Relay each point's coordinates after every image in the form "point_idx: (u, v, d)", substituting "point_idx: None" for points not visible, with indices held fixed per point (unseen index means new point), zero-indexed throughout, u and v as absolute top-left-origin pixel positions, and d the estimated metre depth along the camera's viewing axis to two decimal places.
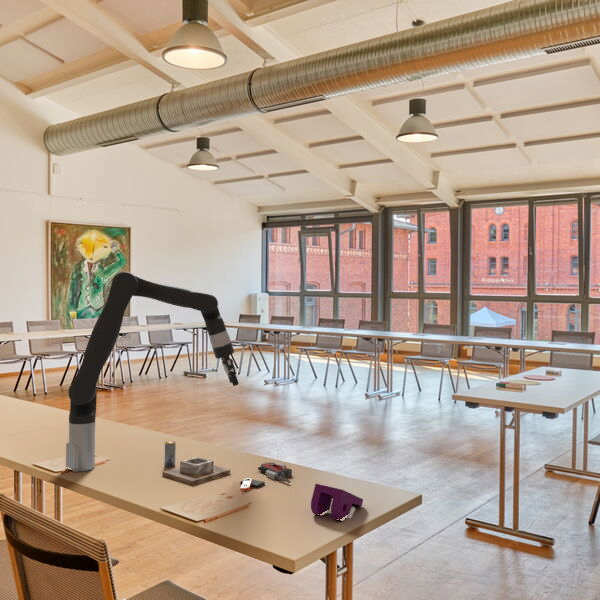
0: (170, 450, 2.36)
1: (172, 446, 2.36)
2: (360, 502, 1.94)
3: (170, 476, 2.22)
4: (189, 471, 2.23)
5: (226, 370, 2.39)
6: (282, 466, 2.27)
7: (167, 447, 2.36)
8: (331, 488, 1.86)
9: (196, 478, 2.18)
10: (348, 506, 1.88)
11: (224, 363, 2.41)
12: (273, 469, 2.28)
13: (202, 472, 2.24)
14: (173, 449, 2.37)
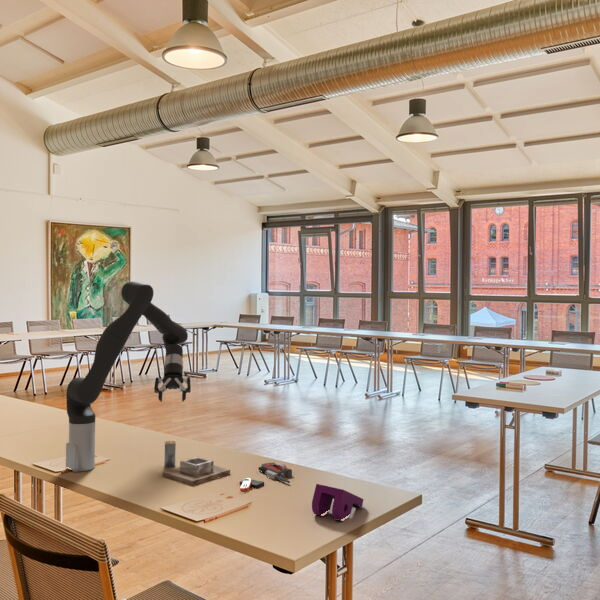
0: (170, 450, 2.36)
1: (172, 446, 2.36)
2: (361, 502, 1.94)
3: (170, 476, 2.22)
4: (189, 471, 2.23)
5: (182, 384, 2.52)
6: (282, 466, 2.27)
7: (167, 447, 2.36)
8: (332, 488, 1.86)
9: (196, 478, 2.18)
10: (349, 506, 1.88)
11: (177, 379, 2.54)
12: (273, 469, 2.28)
13: (202, 472, 2.24)
14: (173, 449, 2.37)
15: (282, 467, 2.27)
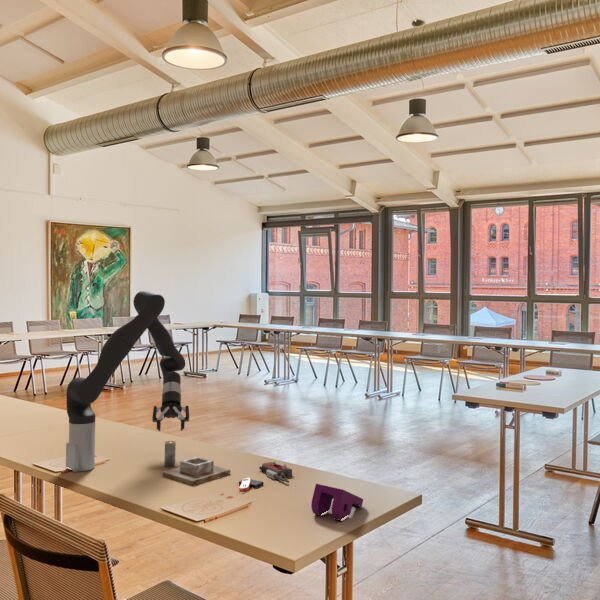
0: (170, 450, 2.36)
1: (172, 446, 2.36)
2: (360, 502, 1.94)
3: (170, 476, 2.22)
4: (189, 471, 2.23)
5: None
6: (282, 466, 2.28)
7: (167, 447, 2.36)
8: (332, 488, 1.86)
9: (196, 478, 2.18)
10: (349, 506, 1.88)
11: (176, 408, 2.51)
12: (273, 469, 2.28)
13: (202, 472, 2.24)
14: (173, 449, 2.37)
15: (282, 467, 2.27)
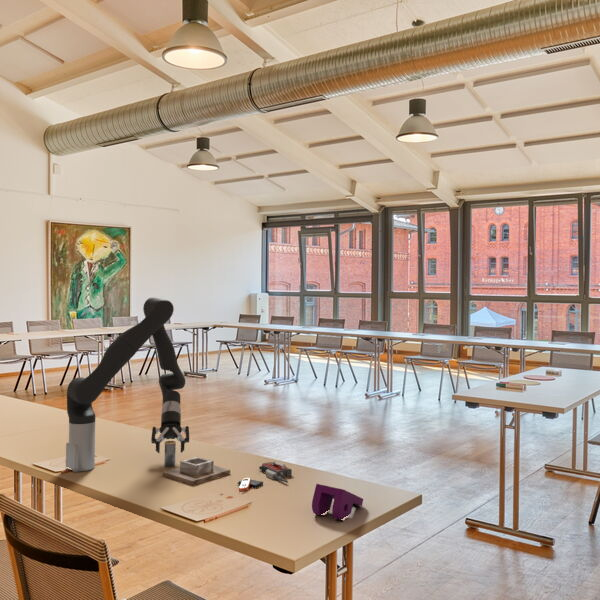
0: (170, 450, 2.36)
1: (172, 446, 2.36)
2: (360, 502, 1.94)
3: (170, 476, 2.22)
4: (189, 471, 2.23)
5: None
6: (282, 466, 2.28)
7: (167, 447, 2.36)
8: (332, 488, 1.86)
9: (196, 478, 2.18)
10: (349, 506, 1.88)
11: (175, 429, 2.43)
12: (273, 469, 2.28)
13: (202, 472, 2.24)
14: (173, 449, 2.37)
15: (281, 467, 2.27)
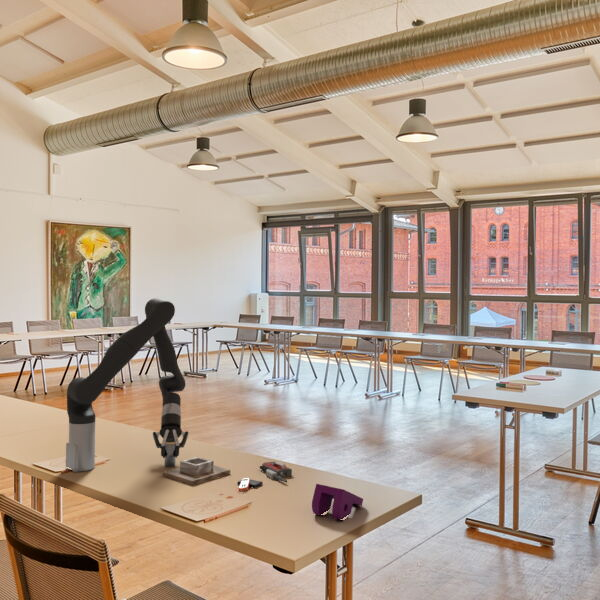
0: (170, 450, 2.36)
1: (172, 446, 2.36)
2: (360, 502, 1.94)
3: (170, 476, 2.22)
4: (189, 471, 2.23)
5: None
6: (282, 466, 2.28)
7: (167, 447, 2.36)
8: (332, 488, 1.87)
9: (196, 478, 2.18)
10: (349, 506, 1.88)
11: (175, 432, 2.42)
12: (273, 468, 2.28)
13: (202, 472, 2.24)
14: (173, 449, 2.37)
15: (281, 466, 2.27)
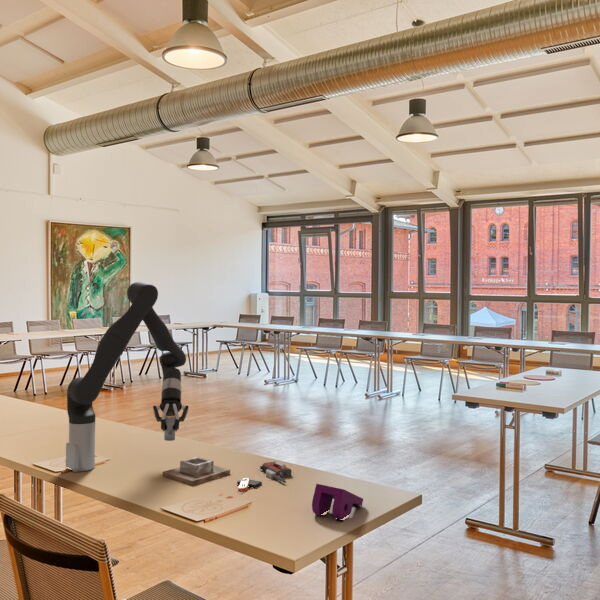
0: (170, 423, 2.36)
1: (173, 419, 2.36)
2: (360, 502, 1.94)
3: (170, 476, 2.22)
4: (189, 471, 2.23)
5: None
6: (281, 466, 2.28)
7: (167, 420, 2.36)
8: (332, 488, 1.87)
9: (196, 478, 2.18)
10: (349, 506, 1.88)
11: (175, 406, 2.42)
12: (272, 468, 2.29)
13: (202, 472, 2.24)
14: (173, 423, 2.36)
15: (281, 467, 2.28)
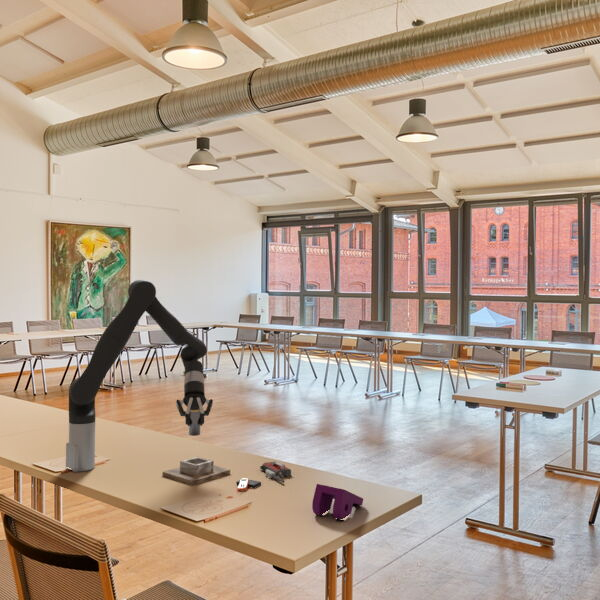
0: (195, 418, 2.27)
1: (197, 414, 2.28)
2: (361, 501, 1.94)
3: (170, 476, 2.22)
4: (189, 471, 2.23)
5: (202, 406, 2.31)
6: (281, 466, 2.28)
7: (192, 414, 2.27)
8: (333, 488, 1.87)
9: (196, 478, 2.18)
10: (349, 506, 1.88)
11: (200, 399, 2.33)
12: (272, 468, 2.29)
13: (202, 472, 2.24)
14: (198, 417, 2.28)
15: (281, 467, 2.28)
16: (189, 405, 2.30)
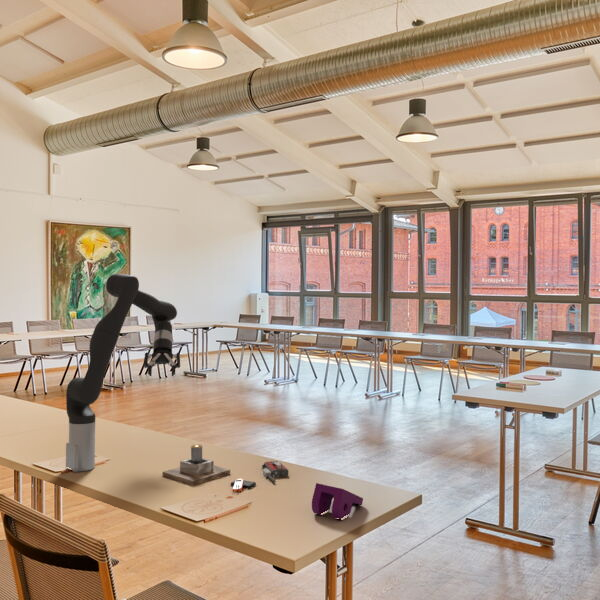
0: (197, 454, 2.25)
1: (199, 450, 2.25)
2: (360, 501, 1.95)
3: (170, 476, 2.22)
4: (189, 471, 2.23)
5: None
6: (278, 465, 2.28)
7: (193, 451, 2.25)
8: (332, 487, 1.87)
9: (196, 478, 2.18)
10: (349, 505, 1.88)
11: None
12: (270, 468, 2.30)
13: (202, 472, 2.24)
14: (200, 453, 2.26)
15: (277, 466, 2.28)
16: (154, 359, 2.52)
